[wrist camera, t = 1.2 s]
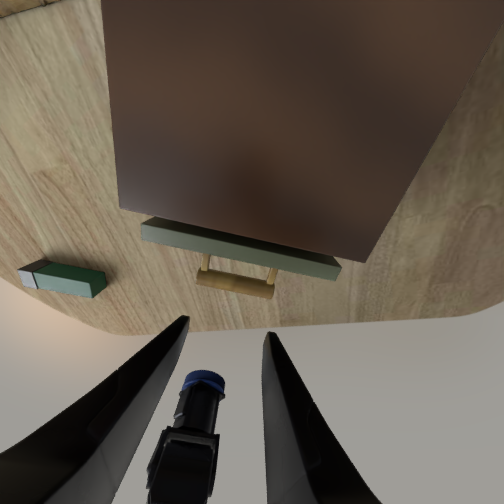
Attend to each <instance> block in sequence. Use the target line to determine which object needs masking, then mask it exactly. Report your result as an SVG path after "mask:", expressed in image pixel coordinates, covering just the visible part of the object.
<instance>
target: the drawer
mask: <svg viewBox="0 0 504 504" xmlns="http://www.w3.org/2000/svg"><path fill="white" fill-rule="evenodd" d="M141 238H142V240H144V241H149V242H153V243H158V244H163V245H167V246H172V247H177V248H181V249H186V250H191V251H195V252H200V253H203V255H202V263H201V267H200V268H199V270H198V273H197V277H196V284H197V285H202V286H207V287H212V288H217V289H222V290H227V291H232V292H237V293H242V294H247V295H252V296H257V297H262V298H267V299H272V297H273V294H274V288H275V285H274V280H275V277H276V274H277V271H278V269H280V270H284V271H289V272H294V273H298V274H303V275H308V276H312V277H317V278H322V279H326V280H331V281H336V279H337V277H338V275H339V273H340V271H341V269H342V267H341V266H340V264H339V263H338V262H337V261H336V260H335V258H334V257H333V256H330V255H326V254H321V253H317V252H312V251H308V250H303V249H299V248H294V247H290V246H286V245H281V244H277V243H272V242H268V241H263V240H259V239H254V238H250V237H245V236H241V235H236V234H232V233H227V232H223V231H219V230H214V229H210V228H205V227H201V226H196V225H192V224H187V223H183V222H178V221H174V220H169V219H165V218H160V217H156V216H155V217H153V218H151V219H149V220H147V221H145V222H143V223H141ZM211 255H214V256H219V257H224V258H228V259H233V260H238V261H242V262H247V263H252V264H256V265H261V266H266V267H270V270H269V274H268V277H267V280H266V281H265V280H261V279H256V278H251V277H246V276H241V275H237V274H232V273H227V272H222V271H217V270H213V269H209V263H210V256H211Z"/></svg>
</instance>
